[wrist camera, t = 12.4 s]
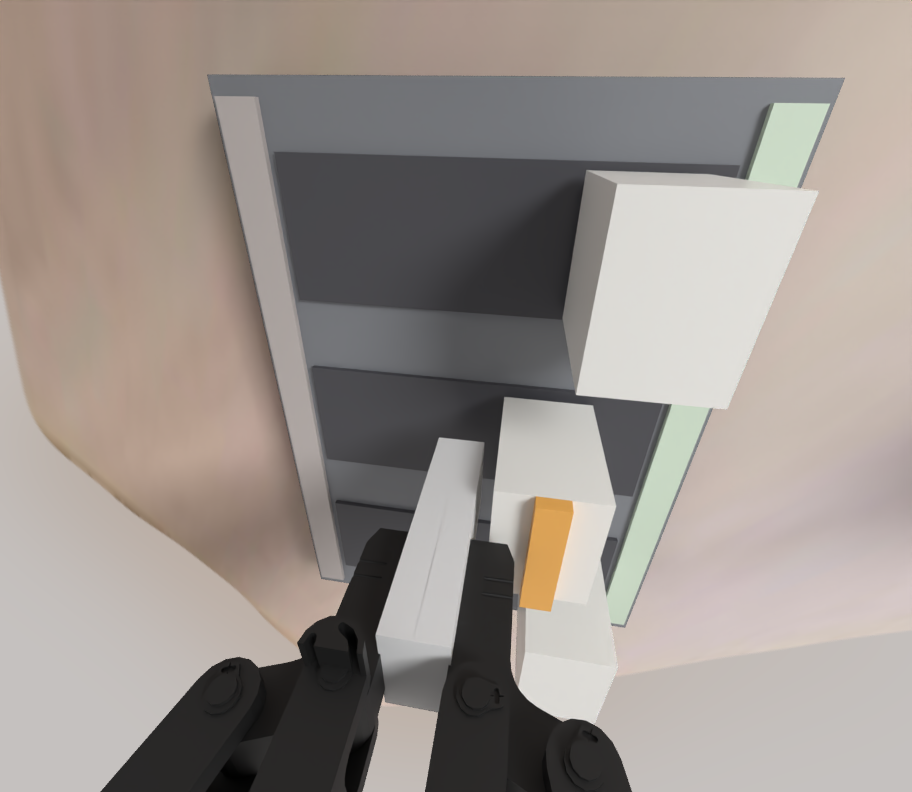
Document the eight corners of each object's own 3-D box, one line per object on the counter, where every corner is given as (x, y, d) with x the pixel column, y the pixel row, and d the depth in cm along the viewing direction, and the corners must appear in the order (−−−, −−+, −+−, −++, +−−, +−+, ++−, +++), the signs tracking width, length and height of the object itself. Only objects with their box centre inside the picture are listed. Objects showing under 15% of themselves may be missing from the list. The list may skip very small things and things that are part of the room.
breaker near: (585, 170, 11) (617, 183, 7) (709, 173, 10) (819, 191, 6) (562, 317, 13) (575, 395, 9) (664, 325, 12) (727, 409, 8)
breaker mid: (504, 396, 15) (492, 502, 10) (592, 405, 14) (619, 518, 10) (496, 483, 17) (483, 601, 12) (573, 492, 16) (588, 618, 12)
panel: (248, 83, 13) (202, 73, 11) (798, 88, 11) (850, 76, 9) (335, 549, 25) (319, 582, 23) (618, 591, 23) (625, 631, 21)
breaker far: (526, 539, 18) (525, 651, 14) (598, 549, 18) (618, 667, 14) (517, 596, 20) (514, 708, 16) (582, 606, 20) (594, 723, 16)
